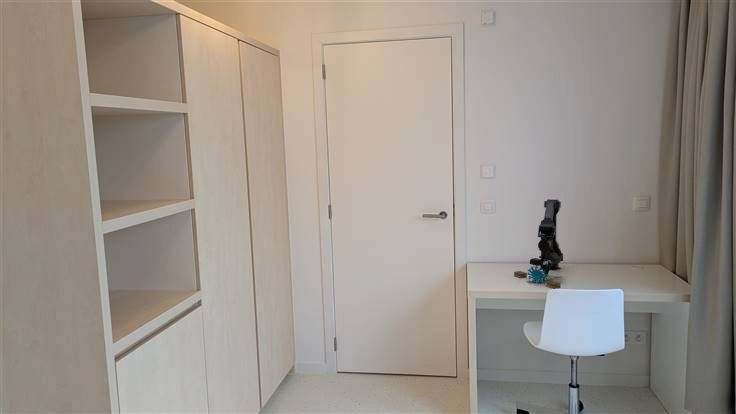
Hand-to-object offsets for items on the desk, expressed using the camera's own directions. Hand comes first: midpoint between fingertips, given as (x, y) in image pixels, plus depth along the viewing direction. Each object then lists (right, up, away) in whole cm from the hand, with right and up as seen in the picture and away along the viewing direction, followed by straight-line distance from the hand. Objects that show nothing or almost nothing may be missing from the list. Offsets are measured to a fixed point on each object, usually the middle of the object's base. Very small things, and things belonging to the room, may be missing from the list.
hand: (546, 275), depth 289 cm
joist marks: (-6, -3, -3) cm, 8 cm away
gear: (-5, -3, -3) cm, 7 cm away
